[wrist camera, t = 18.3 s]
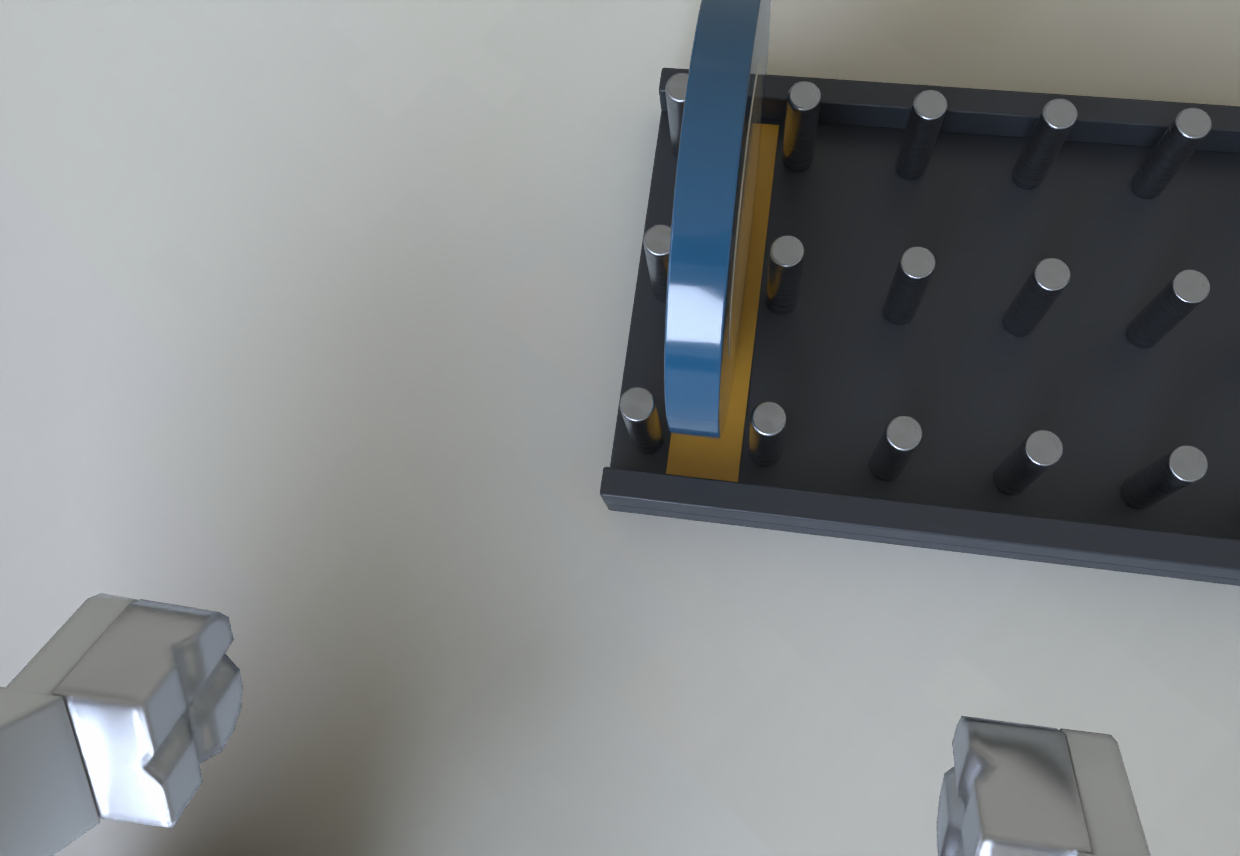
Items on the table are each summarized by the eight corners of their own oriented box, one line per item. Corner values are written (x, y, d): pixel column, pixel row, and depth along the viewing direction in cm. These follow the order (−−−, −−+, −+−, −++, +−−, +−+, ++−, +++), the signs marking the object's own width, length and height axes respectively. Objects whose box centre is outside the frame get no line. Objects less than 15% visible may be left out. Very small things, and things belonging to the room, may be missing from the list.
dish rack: (1290, 592, 30) (1384, 569, 26) (608, 510, 32) (588, 476, 28) (1288, 150, 33) (1371, 63, 29) (666, 105, 35) (656, 19, 31)
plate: (722, 482, 31) (715, 355, 20) (678, 477, 31) (648, 348, 21) (765, 125, 34) (779, -151, 23) (724, 122, 34) (719, -154, 23)
